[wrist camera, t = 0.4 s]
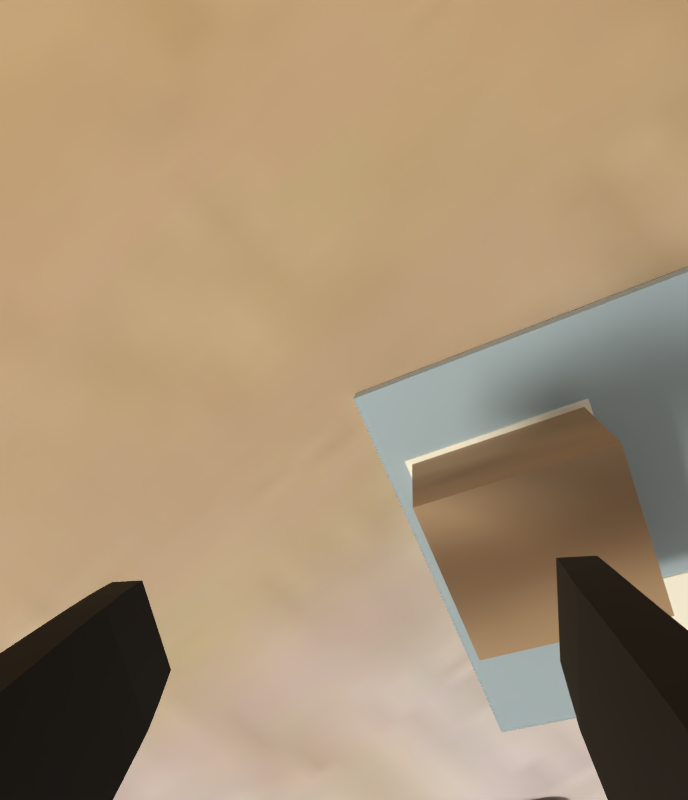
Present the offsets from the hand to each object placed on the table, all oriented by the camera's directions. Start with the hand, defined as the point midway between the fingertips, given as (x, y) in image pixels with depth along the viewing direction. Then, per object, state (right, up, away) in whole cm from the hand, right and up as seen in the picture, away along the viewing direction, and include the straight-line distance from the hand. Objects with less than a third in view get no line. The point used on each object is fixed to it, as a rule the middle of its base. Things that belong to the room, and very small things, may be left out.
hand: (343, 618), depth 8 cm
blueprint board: (+9, -1, +10) cm, 13 cm away
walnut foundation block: (+6, 0, +9) cm, 11 cm away
